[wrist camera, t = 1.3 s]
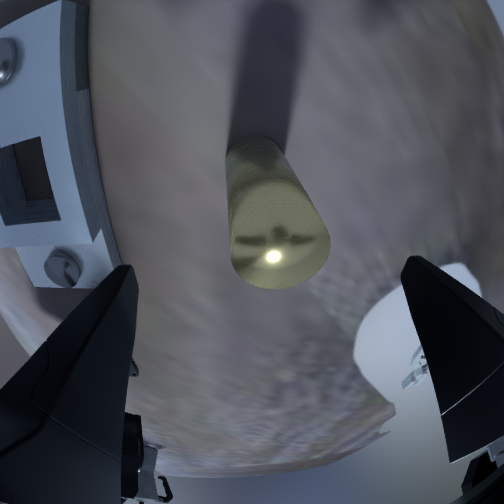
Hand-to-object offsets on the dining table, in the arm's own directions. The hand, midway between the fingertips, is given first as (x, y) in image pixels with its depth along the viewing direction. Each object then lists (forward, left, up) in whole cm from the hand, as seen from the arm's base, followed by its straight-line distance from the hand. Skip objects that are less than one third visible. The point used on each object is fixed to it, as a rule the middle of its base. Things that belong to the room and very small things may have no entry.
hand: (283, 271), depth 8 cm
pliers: (-30, -30, -9) cm, 43 cm away
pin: (0, 0, -9) cm, 9 cm away
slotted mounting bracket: (+1, +13, -9) cm, 16 cm away
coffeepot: (-72, +25, -9) cm, 77 cm away
